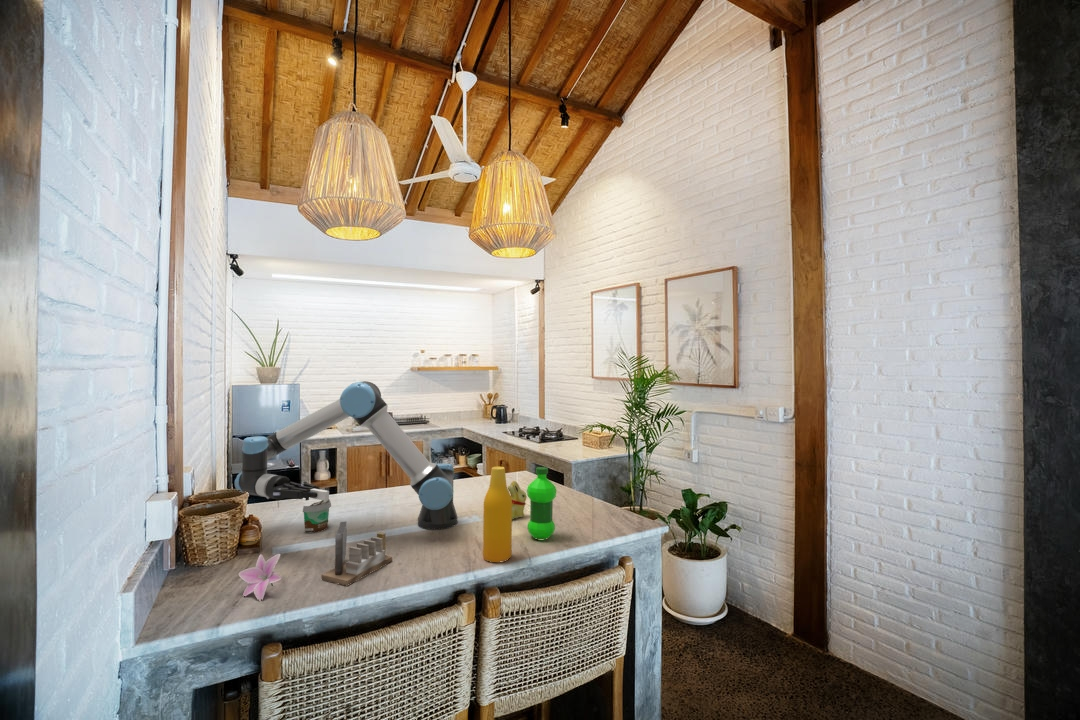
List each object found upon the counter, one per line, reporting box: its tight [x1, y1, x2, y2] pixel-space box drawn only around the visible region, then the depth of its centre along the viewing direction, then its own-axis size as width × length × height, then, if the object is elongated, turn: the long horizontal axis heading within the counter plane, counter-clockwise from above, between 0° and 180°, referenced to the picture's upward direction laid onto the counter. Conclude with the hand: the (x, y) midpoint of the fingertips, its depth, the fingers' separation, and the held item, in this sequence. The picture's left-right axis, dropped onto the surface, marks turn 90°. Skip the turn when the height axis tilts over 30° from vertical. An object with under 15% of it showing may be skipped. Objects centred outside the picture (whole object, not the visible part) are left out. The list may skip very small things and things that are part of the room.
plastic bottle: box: [526, 466, 557, 539], centre depth 181 cm, size 10×10×25 cm
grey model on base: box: [321, 532, 393, 586], centre depth 151 cm, size 19×10×13 cm, turn 157°
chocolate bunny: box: [507, 480, 528, 520], centre depth 203 cm, size 7×11×15 cm, turn 125°
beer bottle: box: [482, 466, 513, 563], centre depth 162 cm, size 9×9×29 cm
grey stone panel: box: [336, 521, 348, 570], centre depth 153 cm, size 13×2×10 cm, turn 17°
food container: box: [302, 499, 332, 533], centre depth 187 cm, size 12×6×10 cm, turn 168°
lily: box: [238, 553, 282, 601], centre depth 137 cm, size 12×12×10 cm
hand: (327, 495), depth 159 cm, fingers closed
